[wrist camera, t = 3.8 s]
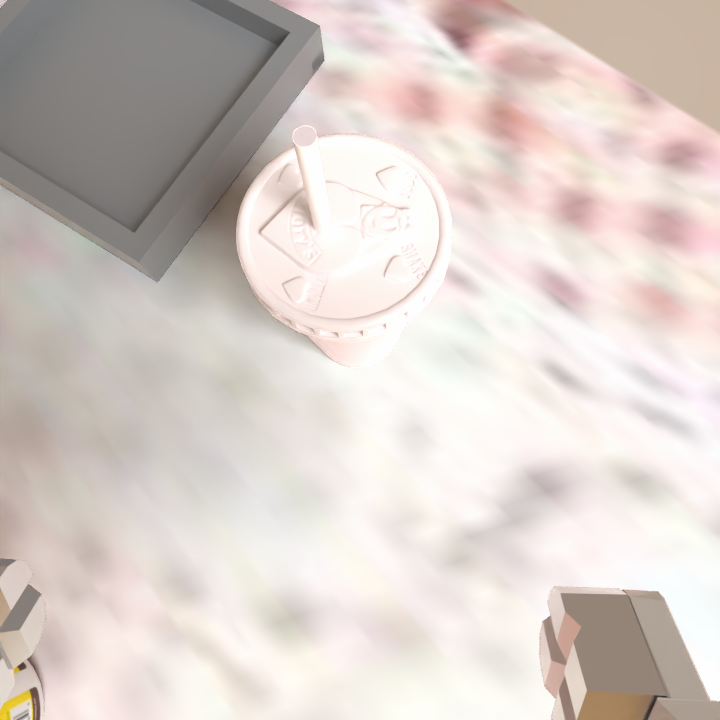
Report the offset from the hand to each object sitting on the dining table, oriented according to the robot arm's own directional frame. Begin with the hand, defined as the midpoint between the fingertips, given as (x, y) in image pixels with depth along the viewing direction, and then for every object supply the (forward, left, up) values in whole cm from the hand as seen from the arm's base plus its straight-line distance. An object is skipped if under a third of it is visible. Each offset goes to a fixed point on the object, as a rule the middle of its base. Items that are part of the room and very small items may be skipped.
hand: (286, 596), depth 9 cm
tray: (-21, +12, -15) cm, 28 cm away
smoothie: (-5, +8, -16) cm, 18 cm away
